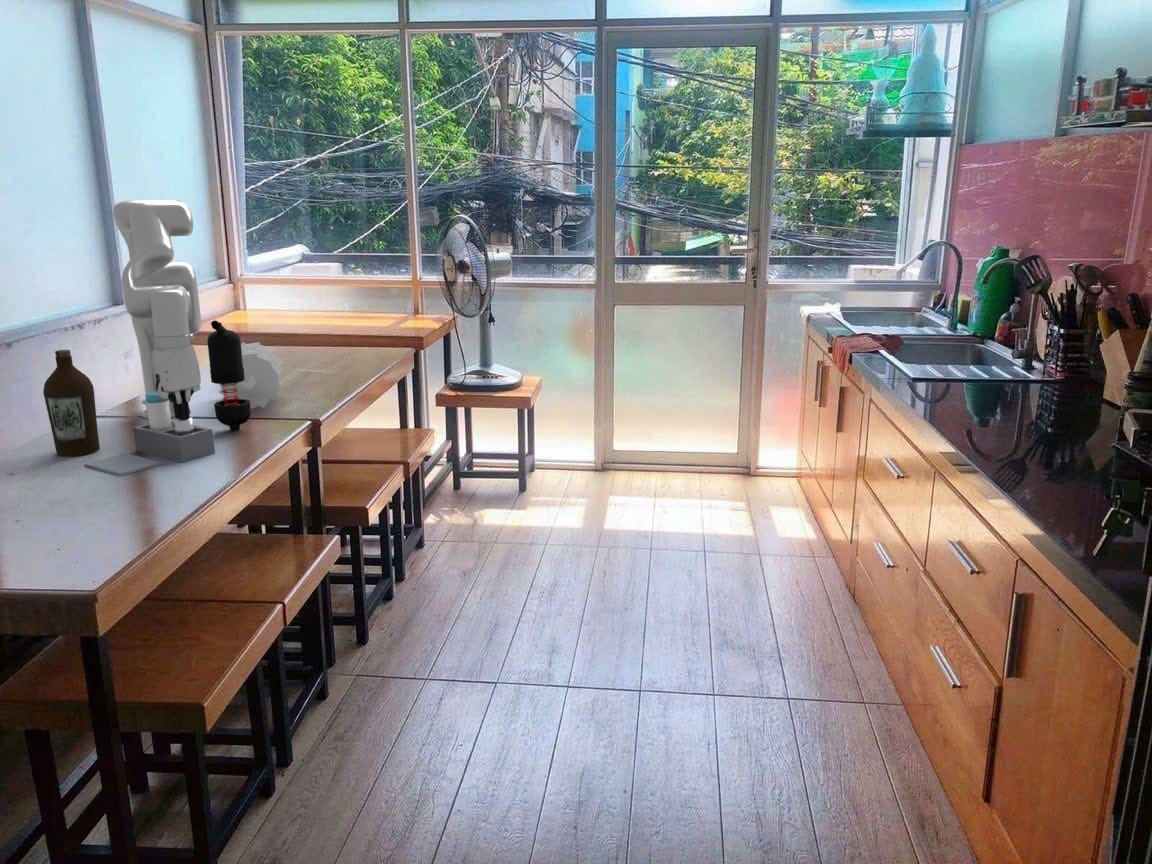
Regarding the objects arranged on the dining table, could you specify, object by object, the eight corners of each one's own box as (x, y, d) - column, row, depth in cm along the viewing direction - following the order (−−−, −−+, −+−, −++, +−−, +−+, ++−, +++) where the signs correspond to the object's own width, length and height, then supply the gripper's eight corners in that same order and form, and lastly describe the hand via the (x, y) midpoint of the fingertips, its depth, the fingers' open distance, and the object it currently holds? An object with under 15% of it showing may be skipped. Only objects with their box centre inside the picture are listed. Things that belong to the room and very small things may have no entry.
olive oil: (61, 446, 224) (45, 347, 217) (107, 444, 226) (93, 346, 219) (47, 459, 214) (30, 355, 207) (95, 456, 216) (80, 353, 209)
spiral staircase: (270, 406, 281) (268, 421, 258) (213, 385, 275) (205, 399, 251) (292, 352, 279) (291, 363, 256) (235, 330, 273) (229, 339, 250)
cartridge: (148, 450, 220) (141, 394, 217) (166, 445, 225) (159, 391, 221) (161, 453, 218) (153, 397, 214) (179, 448, 222) (172, 393, 218)
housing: (136, 451, 220) (132, 427, 218) (168, 442, 227) (165, 419, 226) (182, 462, 211) (179, 438, 209) (215, 453, 218) (212, 429, 217)
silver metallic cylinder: (171, 439, 215) (168, 419, 214) (187, 435, 219) (184, 415, 217) (182, 442, 213) (180, 422, 211) (198, 438, 216) (196, 418, 215)
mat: (84, 466, 208) (84, 463, 208) (125, 455, 216) (124, 453, 216) (121, 475, 201) (120, 473, 201) (161, 464, 209) (160, 461, 209)
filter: (244, 435, 233) (232, 320, 225) (209, 435, 233) (196, 320, 225) (262, 422, 246) (251, 313, 238) (229, 422, 246) (217, 313, 238)
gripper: (190, 336, 217) (199, 410, 222) (133, 345, 205) (144, 423, 210) (211, 339, 214) (219, 413, 218) (154, 348, 201) (164, 427, 206)
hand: (182, 418), depth 214 cm, fingers closed
